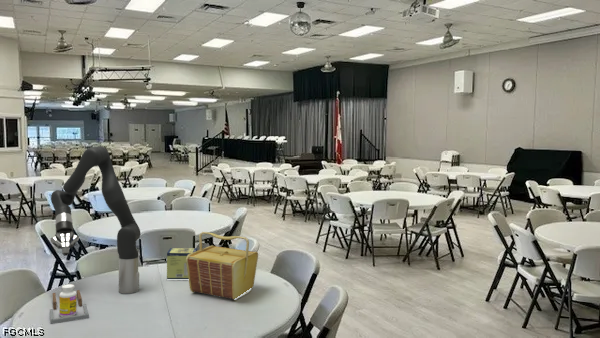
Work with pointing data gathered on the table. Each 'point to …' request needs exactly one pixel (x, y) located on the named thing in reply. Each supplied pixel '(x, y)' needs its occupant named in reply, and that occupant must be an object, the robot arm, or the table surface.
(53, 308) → the walnut dock
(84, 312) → the grey flat square frame
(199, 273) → the picnic basket
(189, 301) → the table surface
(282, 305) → the table surface
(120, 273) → the robot arm
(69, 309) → the supplement bottle
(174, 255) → the protein box
